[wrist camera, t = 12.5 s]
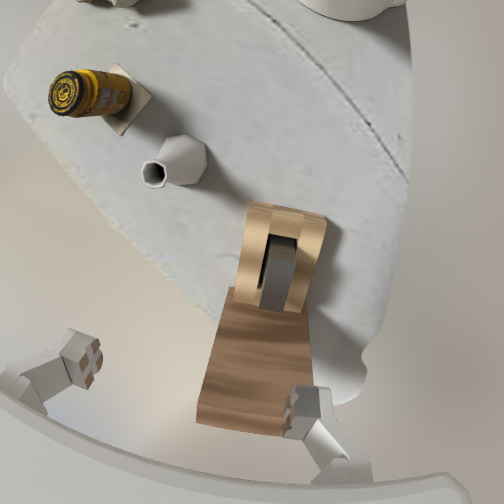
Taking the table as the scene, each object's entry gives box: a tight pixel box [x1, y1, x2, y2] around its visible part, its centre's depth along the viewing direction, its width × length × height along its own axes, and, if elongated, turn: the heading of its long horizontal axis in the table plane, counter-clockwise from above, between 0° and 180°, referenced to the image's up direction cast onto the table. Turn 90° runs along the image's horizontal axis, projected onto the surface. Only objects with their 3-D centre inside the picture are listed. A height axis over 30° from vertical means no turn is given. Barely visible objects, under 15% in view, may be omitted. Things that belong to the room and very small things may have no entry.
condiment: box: [48, 63, 152, 136], centre depth 29 cm, size 7×8×12 cm
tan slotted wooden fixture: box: [196, 201, 327, 437], centre depth 34 cm, size 18×12×22 cm, turn 170°
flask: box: [141, 134, 208, 189], centre depth 34 cm, size 7×7×10 cm
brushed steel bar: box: [259, 234, 296, 313], centre depth 39 cm, size 7×3×9 cm, turn 170°
